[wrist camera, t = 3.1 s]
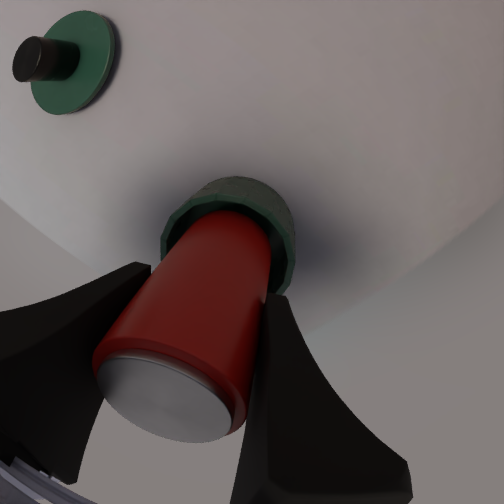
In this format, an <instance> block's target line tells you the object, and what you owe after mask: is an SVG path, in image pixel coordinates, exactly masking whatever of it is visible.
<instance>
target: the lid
mask: <svg viewBox="0 0 504 504" xmlns="http://www.w3.org/2000/svg"><path fill="white" fill-rule="evenodd" d="M114 51H115V40H114V34H113V30H112V28H111V26H110V24H109V22H108V21H107V20H106V19H105V18H104V17H103V16H101V15H99V14H97V13H94V12H91V11H77V12H74V13H71V14H68V15H67V16H65V17H63V18H62V19H60V20H59V21H57V22H56V23H55V24H54V25H53V26H52V27H51V28H50V29H49V30H48V32H47V33H46V34H45V35H44V37H37V36H32V37H29V38H27V39H26V40H25V41H23V43H22V44H21V45H20V46H19V48H18V50H17V51H16V54H15V56H14V60H13V66H12V70H13V75H14V78H15V79H16V80H17V81H19V82H31V89H32V93H33V96H34V98H35V100H36V102H37V104H38V105H39V106H40V107H41V108H42V109H43V110H44V111H46V112H48V113H50V114H55V115H62V114H69V113H72V112H75V111H77V110H79V109H81V108H82V107H84V106H85V105H86V104H87V103H89V102H90V101H91V100H92V99H93V98H94V97H95V96H96V94H97V93H98V92H99V90H100V89H101V87H102V86H103V84H104V82H105V80H106V78H107V76H108V74H109V71H110V69H111V66H112V62H113V58H114Z"/></svg>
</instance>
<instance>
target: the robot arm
mask: <svg viewBox="0 0 504 504" xmlns="http://www.w3.org/2000/svg"><path fill="white" fill-rule="evenodd" d="M150 275H151V265H147V264H143V263H139V262H133V263H130V264H128V265H125V266H123V267H121V268H119V269H117V270H115V271H113V272H110V273H108V274H106V275H104V276H102V277H100V278H98V279H96V280H94V281H91V282H90V283H87V284H85V285H82V286H80V287H78V288H75V289H73V290H71V291H68V292H66V293H64V294H61V295H59V296H56V297H53V298H51V299H47V300H44V301H42V302H38V303H35V304H32V305H28V306H24V307H20V308H16V309H12V310H7V311H2V312H0V504H40V503H38V502H36V501H35V500H34V499H39V500H40V499H46V500H48V501H50V502H51V503H53V504H97V503H95V502H92V501H90V500H88V499H86V498H84V497H82V496H80V495H78V494H76V493H74V492H73V491H71V490H69V489H67V488H65V487H63V486H62V485H60V484H58V483H59V482H60V481H61V482H63V483H65V484H67V485H70V484H73V483H76V482H77V479H78V474H79V470H80V466H81V462H82V459H83V455H84V451H85V448H86V445H87V442H88V439H89V436H90V433H91V430H92V427H93V425H94V422H95V419H96V417H97V414H98V411H99V409H100V407H101V404H102V402H103V400H104V396H103V394H102V393H101V391H100V389H99V387H98V383H97V380H96V378H95V376H94V373H93V369H92V356H93V353H94V350H95V349H96V347H97V346H98V344H99V343H100V342H101V340H102V339H103V337H104V336H105V335H106V333H107V332H108V330H109V329H110V328H111V326H112V325H113V324H114V322H115V321H116V320H117V318H118V317H119V316H120V314H121V313H122V311H123V310H124V309H125V308H126V306H127V305H128V304H129V302H130V301H131V300H132V298H133V297H134V296H135V294H136V293H137V292H138V290H139V289H140V288H141V287H142V285H143V284H144V283H145V281H146V280H147V279H148V278H149V276H150ZM412 498H413V493H412V484H411V476H410V472H409V469H408V464H407V461H406V460H404V459H403V458H402V457H401V456H399V455H398V454H397V453H396V452H394V451H393V450H392V449H391V448H389V447H388V446H387V445H386V444H384V443H383V442H382V441H381V440H380V439H378V438H377V437H376V436H375V435H374V434H373V433H372V432H371V431H370V430H369V429H368V428H367V427H366V426H365V425H364V424H363V423H362V422H361V421H360V420H359V419H358V418H357V417H356V416H355V415H354V414H353V412H352V411H351V410H350V409H349V408H348V407H347V405H346V404H345V403H344V402H343V401H342V400H341V398H340V397H339V396H338V395H337V394H336V392H335V391H334V389H333V388H332V387H331V385H330V384H329V382H328V381H327V379H326V378H325V377H324V375H323V373H322V372H321V370H320V369H319V367H318V365H317V363H316V362H315V360H314V358H313V356H312V354H311V353H310V351H309V349H308V347H307V345H306V343H305V341H304V339H303V336H302V334H301V332H300V330H299V328H298V325H297V323H296V321H295V318H294V316H293V313H292V310H291V307H290V304H289V301H288V299H287V297H286V296H283V295H278V294H273V293H268V292H267V296H266V300H265V304H264V309H263V315H262V322H261V330H260V339H259V346H258V353H257V359H256V366H255V372H254V378H253V385H252V391H251V397H250V403H249V409H248V415H247V418H246V426H245V433H244V438H243V443H242V448H241V453H240V458H239V464H238V468H237V473H236V477H235V482H234V487H233V491H232V496H231V500H230V504H408V503H409V502H410V501H411V499H412Z"/></svg>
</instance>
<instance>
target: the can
mask: <svg viewBox="0 0 504 504" xmlns="http://www.w3.org/2000/svg"><path fill="white" fill-rule="evenodd" d="M271 257H272V252H271V245H270V242H269V239H268V237H267V235H266V233H265V232H264V230H263V229H262V228H261V227H260V226H259V225H258V224H257V223H256V222H255V221H254V220H252V219H251V218H249V217H248V216H246V215H244V214H241V213H238V212H234V211H228V210H219V211H213V212H210V213H207V214H205V215H203V216H201V217H200V218H198V219H197V220H196V221H195V222H194V223H193V224H192V225H191V226H190V227H189V229H188V230H187V231H186V232H185V233H184V235H183V236H182V237H181V238H180V239H179V241H178V242H177V243H176V244H175V245H174V247H173V248H172V249H171V250H170V251H169V253H168V254H167V255H166V256H165V258H164V259H163V260H162V261H161V263H160V264H159V265H158V266H157V268H156V269H155V270H154V271H153V273H152V274H151V275H150V276H149V278H148V279H147V280H146V281H145V283H144V284H143V285H142V287H141V288H140V289H139V290H138V292H137V293H136V294H135V296H134V297H133V298H132V300H131V301H130V302H129V304H128V305H127V306H126V308H125V309H124V310H123V311H122V313H121V314H120V316H119V317H118V318H117V320H116V321H115V322H114V324H113V325H112V326H111V328H110V329H109V330H108V332H107V333H106V335H105V336H104V337H103V339H102V340H101V342H100V343H99V344H98V346H97V347H96V349H95V350H94V353H93V356H92V369H93V373H94V376H95V378H96V380H97V383H98V387H99V389H100V391H101V393H102V394H103V396H104V398H105V399H106V400H107V402H108V403H109V404H110V405H111V406H112V407H113V408H114V409H115V410H116V411H117V412H118V413H119V414H121V415H122V416H123V417H124V418H126V419H127V420H129V421H130V422H132V423H133V424H135V425H136V426H138V427H140V428H142V429H144V430H146V431H148V432H150V433H153V434H155V435H158V436H161V437H164V438H167V439H171V440H175V441H180V442H188V443H204V442H210V441H214V440H217V439H220V438H222V437H223V436H226V435H229V434H231V433H233V432H235V431H236V430H238V429H239V428H240V427H241V426H242V425H243V423H244V422H245V420H246V418H247V415H248V409H249V403H250V397H251V391H252V385H253V378H254V372H255V366H256V359H257V353H258V346H259V339H260V330H261V322H262V315H263V309H264V304H265V300H266V293H267V286H268V279H269V272H270V265H271Z"/></svg>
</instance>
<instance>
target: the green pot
mask: <svg viewBox="0 0 504 504" xmlns="http://www.w3.org/2000/svg"><path fill="white" fill-rule="evenodd" d="M219 210H228V211H234V212H238V213H241V214H244V215H246V216H248V217H249V218H251V219H252V220H254V221H255V222H256V223H257V224H258V225H259V226H260V227H261V228H262V229H263V230H264V232H265V233H266V235H267V237H268V239H269V242H270V245H271V252H272V257H271V265H270V272H269V279H268V286H267V292H268V293H273V294H278V295H282V294H283V293H284V292H285V290H286V289H287V288H288V287H289V285H290V283H291V278H292V274H293V270H294V265H295V232H294V227H293V220H292V217H291V213H290V211H289V209H288V207H287V205H286V204H285V202H284V200H283V199H282V198H281V197H280V196H279V195H278V194H277V193H276V192H275V191H274V190H273V189H272V188H270V187H269V186H267V185H266V184H264V183H262V182H260V181H257V180H254V179H251V178H247V177H238V176H236V177H226V178H221V179H218V180H215V181H213V182H211V183H208V184H207V185H206V186H204V187H203V188H202V189H201V190H199V191H198V192H197V193H196V194H194V195H193V196H192V197H191V198H190V199H189V200H187V201H186V202H185V203H184V204H183V205H182V206H181V207H180V208H179V209H177V210H176V211H175V212H174V213H173V214H172V215H171V216H170V218H169V220H168V222H167V224H166V226H165V229H164V231H163V233H162V235H161V261H162V260H163V259H164V258H165V256H166V255H167V254H168V253H169V251H170V250H171V249H172V248H173V247H174V245H175V244H176V243H177V242H178V241H179V239H180V238H181V237H182V236H183V235H184V233H185V232H186V231H187V230H188V229H189V227H190V226H191V225H192V224H193V223H194V222H195V221H196V220H197V219H198V218H200V217H201V216H203V215H205V214H207V213H210V212H213V211H219ZM266 296H267V293H266Z"/></svg>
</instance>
